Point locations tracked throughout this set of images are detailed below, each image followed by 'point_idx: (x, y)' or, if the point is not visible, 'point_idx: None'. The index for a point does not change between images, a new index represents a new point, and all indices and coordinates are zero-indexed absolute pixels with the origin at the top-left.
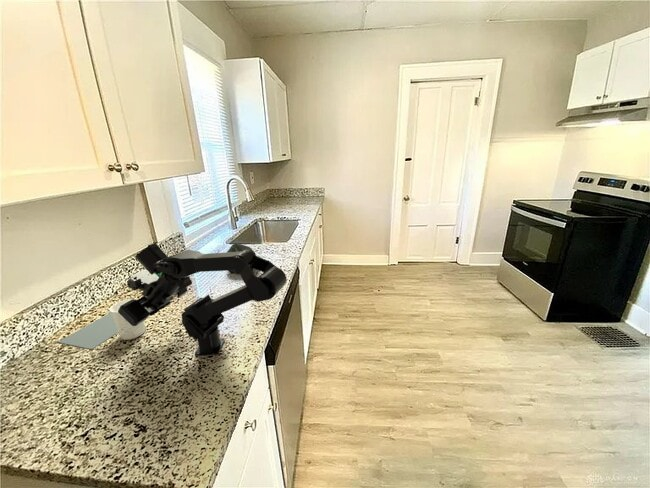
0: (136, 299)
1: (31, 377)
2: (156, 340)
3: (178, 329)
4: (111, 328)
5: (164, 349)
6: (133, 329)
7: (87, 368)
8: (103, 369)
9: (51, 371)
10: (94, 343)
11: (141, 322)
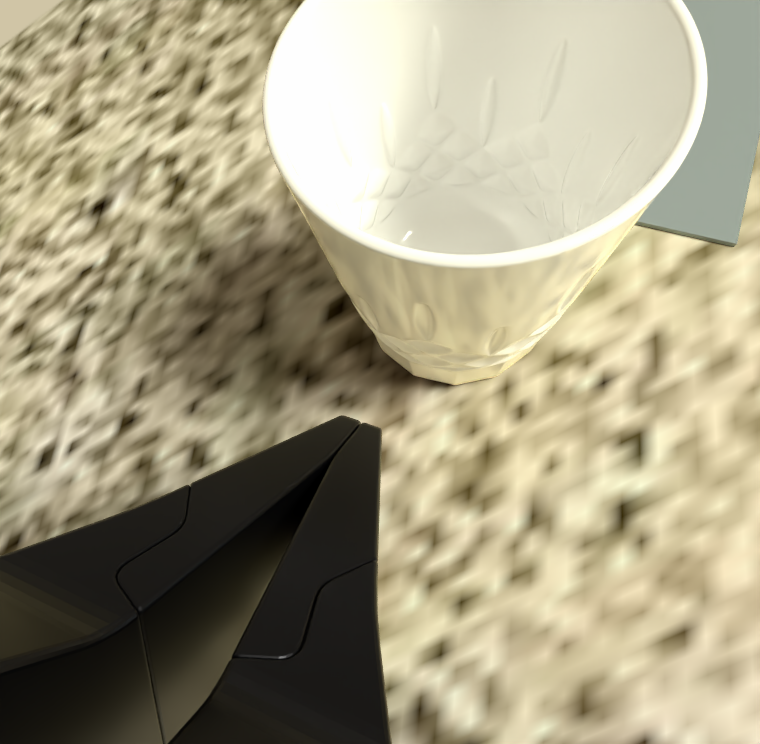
0: (686, 116)
1: (117, 31)
2: None
3: (485, 713)
4: None
5: None
6: (372, 329)
7: (111, 243)
8: (74, 342)
9: (138, 82)
10: None
11: (445, 360)
